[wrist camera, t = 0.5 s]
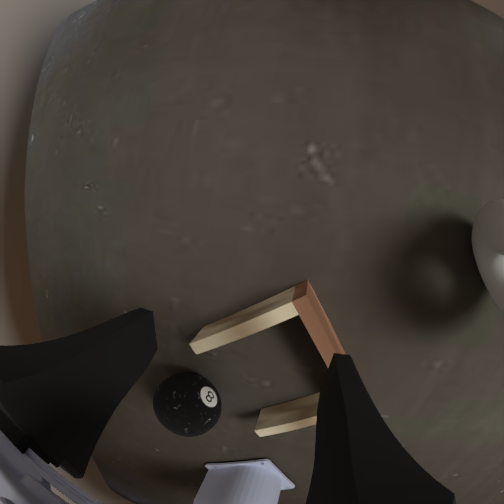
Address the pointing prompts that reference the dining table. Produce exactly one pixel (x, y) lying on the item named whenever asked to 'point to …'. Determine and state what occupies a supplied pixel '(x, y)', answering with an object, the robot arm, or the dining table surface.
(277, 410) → the wooden u-shaped frame
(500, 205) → the donut
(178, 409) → the billiard ball
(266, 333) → the dining table surface
